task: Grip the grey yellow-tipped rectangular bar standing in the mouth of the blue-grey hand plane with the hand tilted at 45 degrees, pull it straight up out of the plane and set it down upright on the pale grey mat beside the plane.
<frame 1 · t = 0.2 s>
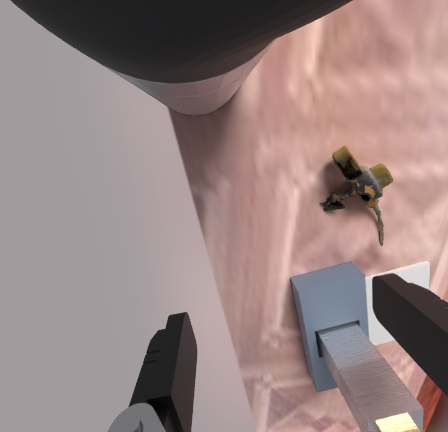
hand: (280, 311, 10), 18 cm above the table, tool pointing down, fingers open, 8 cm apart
regulator: (357, 195, 28), on the table
grey yellow-tipped rectangular bar: (327, 322, 34), resting in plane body
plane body: (327, 322, 34), on the table
mat: (393, 305, 34), on the table
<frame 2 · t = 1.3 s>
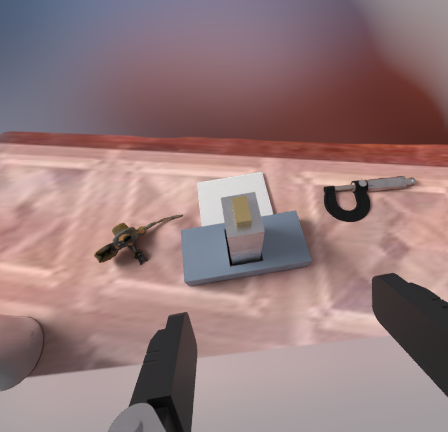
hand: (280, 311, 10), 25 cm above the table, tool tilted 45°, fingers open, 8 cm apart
micrometer: (368, 202, 41), on the table
regulator: (143, 238, 41), on the table
grey yellow-tipped rectangular bar: (243, 251, 38), resting in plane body
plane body: (243, 251, 38), on the table
mat: (233, 199, 42), on the table
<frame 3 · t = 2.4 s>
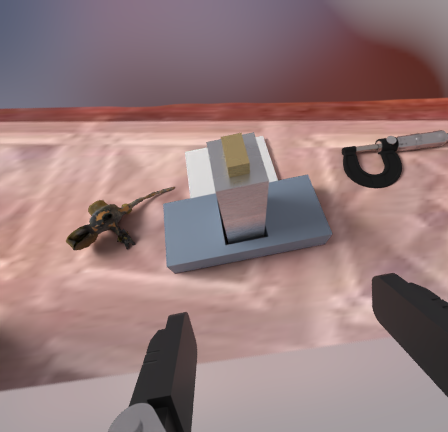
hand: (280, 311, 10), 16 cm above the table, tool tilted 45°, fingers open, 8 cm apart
micrometer: (398, 165, 33), on the table
regulator: (129, 219, 33), on the table
grey yellow-tipped rectangular bar: (242, 228, 30), resting in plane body
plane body: (242, 228, 30), on the table
mat: (229, 169, 35), on the table
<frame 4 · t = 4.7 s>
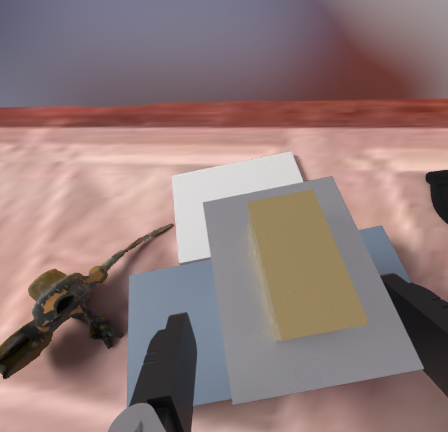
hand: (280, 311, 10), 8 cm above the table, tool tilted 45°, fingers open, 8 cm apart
regulator: (105, 288, 20), on the table, touching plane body
grey yellow-tipped rectangular bar: (266, 315, 18), resting in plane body
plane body: (266, 315, 18), on the table
mat: (240, 205, 22), on the table
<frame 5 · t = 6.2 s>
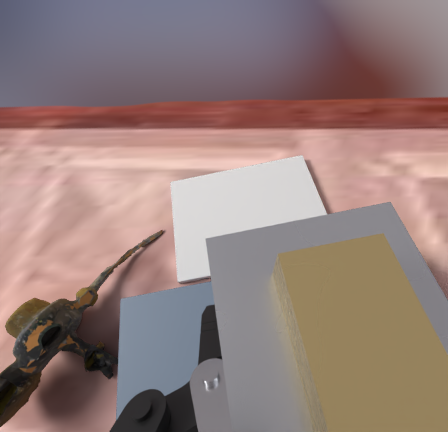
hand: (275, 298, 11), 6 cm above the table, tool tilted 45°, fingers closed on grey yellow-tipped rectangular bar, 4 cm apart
regulator: (97, 311, 18), on the table
grey yellow-tipped rectangular bar: (276, 343, 15), resting in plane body, touching gripper
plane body: (277, 343, 15), on the table
mat: (246, 215, 20), on the table
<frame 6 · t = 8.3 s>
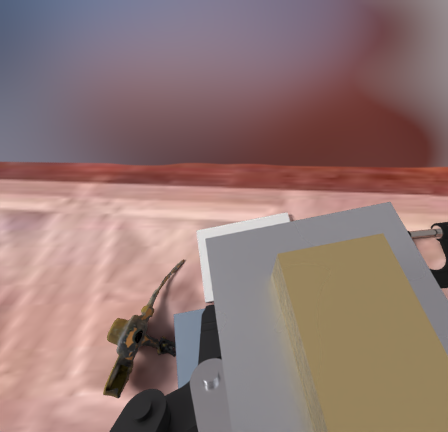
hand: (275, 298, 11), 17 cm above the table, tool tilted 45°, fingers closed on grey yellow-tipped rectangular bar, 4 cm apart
regulator: (153, 320, 28), on the table
grey yellow-tipped rectangular bar: (277, 343, 15), point 11 cm above the table, touching gripper
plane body: (268, 341, 25), on the table
mat: (249, 255, 30), on the table
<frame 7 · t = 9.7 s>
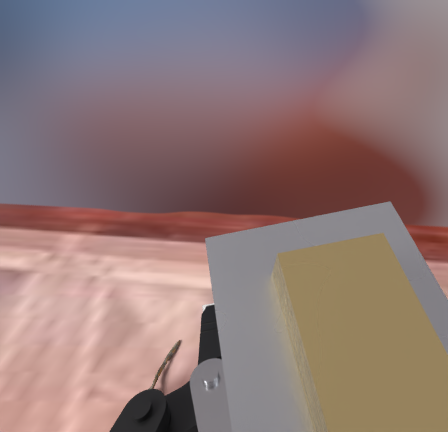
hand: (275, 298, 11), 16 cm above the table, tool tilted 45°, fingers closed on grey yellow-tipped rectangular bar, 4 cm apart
grey yellow-tipped rectangular bar: (277, 343, 15), point 10 cm above the table, touching gripper
when the fingers open (7 cm above the table, at t = 11.8 s): grey yellow-tipped rectangular bar stays where it is, resting on mat.
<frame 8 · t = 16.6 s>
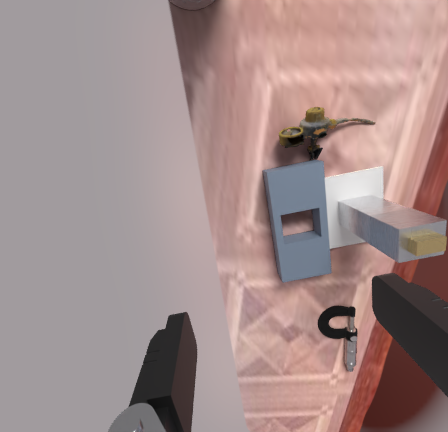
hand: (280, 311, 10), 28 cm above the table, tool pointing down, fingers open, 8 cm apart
micrometer: (334, 335, 47), on the table
regulator: (321, 128, 35), on the table
grey yellow-tipped rectangular bar: (354, 209, 38), point 1 cm above the table, touching mat
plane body: (295, 220, 39), on the table
mat: (353, 208, 39), on the table
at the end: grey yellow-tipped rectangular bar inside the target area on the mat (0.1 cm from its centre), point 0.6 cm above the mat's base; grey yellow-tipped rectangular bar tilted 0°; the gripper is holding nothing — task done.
